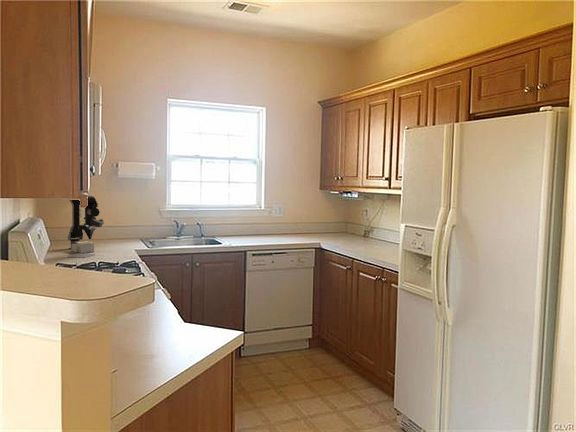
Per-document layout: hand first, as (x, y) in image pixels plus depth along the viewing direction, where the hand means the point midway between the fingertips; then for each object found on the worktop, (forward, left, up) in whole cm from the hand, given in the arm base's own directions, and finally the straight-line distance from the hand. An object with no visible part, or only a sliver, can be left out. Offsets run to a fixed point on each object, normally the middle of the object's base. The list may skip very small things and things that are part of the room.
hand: (90, 239), depth 322 cm
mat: (+11, 0, -10) cm, 14 cm away
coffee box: (-2, -3, -6) cm, 7 cm away
